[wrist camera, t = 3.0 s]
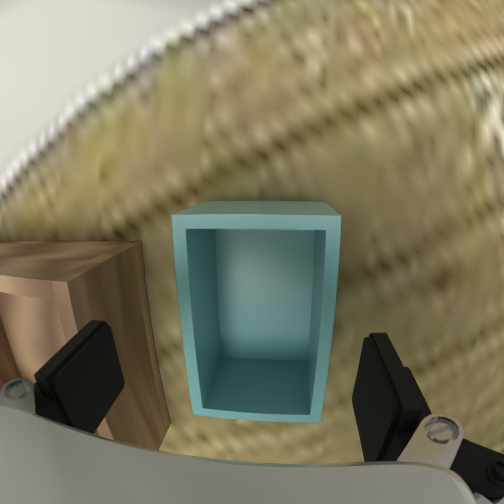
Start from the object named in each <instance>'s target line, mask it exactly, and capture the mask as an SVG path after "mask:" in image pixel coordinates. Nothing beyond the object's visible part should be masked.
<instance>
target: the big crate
mask: <svg viewBox="0 0 504 504" xmlns="http://www.w3.org/2000/svg"><path fill="white" fill-rule="evenodd" d="M91 320H101V321H106V322H107V324H108V325H109V326H110V327H111V329H112V333H113V338H114V342H115V346H116V350H117V354H118V358H119V361H120V365H121V369H122V372H123V376H124V380H125V385H124V388H123V390H122V391H121V393H120V394H119V396H118V397H117V399H116V400H115V402H114V403H113V405H112V407H111V408H110V410H109V411H108V413H107V414H106V416H105V417H104V419H103V420H102V422H101V424H100V425H99V427H98V428H97V430H96V431H95V433H94V434H95V435H99V436H102V437H106V438H110V439H113V440H117V441H121V442H125V443H129V444H133V445H137V446H142V447H146V448H151V449H156V450H159V447H160V445H161V443H162V441H163V439H164V437H165V435H166V432H167V430H168V428H169V426H170V424H171V423H170V419H169V414H168V410H167V406H166V401H165V396H164V392H163V387H162V382H161V377H160V372H159V367H158V361H157V356H156V350H155V345H154V339H153V332H152V326H151V319H150V313H149V306H148V298H147V290H146V282H145V273H144V264H143V254H142V244H141V241H0V393H1V389H2V388H3V386H4V385H5V384H6V383H7V382H9V381H11V380H13V379H16V378H27V379H29V380H31V381H32V382H33V384H34V383H35V382H36V380H35V377H34V374H35V373H36V372H37V371H38V370H39V369H40V368H41V367H42V366H43V365H44V364H45V363H46V362H47V361H48V360H49V359H50V358H51V357H52V356H53V355H54V354H55V353H57V352H58V351H59V350H60V349H61V348H62V347H63V346H64V345H65V344H66V343H67V342H68V341H69V340H70V339H71V338H72V337H73V336H74V335H76V334H77V333H78V332H79V331H80V330H81V329H82V328H83V327H84V326H85V325H86V324H87V323H88V322H90V321H91Z"/></svg>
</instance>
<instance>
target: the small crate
mask: <svg viewBox="0 0 504 504" xmlns="http://www.w3.org/2000/svg"><path fill="white" fill-rule="evenodd" d="M172 230H173V246H174V259H175V272H176V283H177V294H178V304H179V314H180V323H181V332H182V340H183V348H184V356H185V363H186V370H187V377H188V384H189V390H190V397H191V403H192V409H193V414H195V415H202V416H210V417H219V418H229V419H240V420H254V421H272V422H320V419H321V414H322V408H323V401H324V395H325V388H326V382H327V374H328V367H329V360H330V352H331V343H332V335H333V325H334V316H335V305H336V294H337V282H338V268H339V253H340V234H341V215H340V214H339V213H337V212H336V211H335V210H334V209H333V208H332V207H331V206H330V205H328V204H327V203H326V202H318V201H205V202H202V203H200V204H197V205H195V206H192V207H190V208H187V209H185V210H182V211H180V212H177V213H175V214H172Z"/></svg>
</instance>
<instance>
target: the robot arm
mask: <svg viewBox="0 0 504 504" xmlns="http://www.w3.org/2000/svg"><path fill="white" fill-rule="evenodd" d="M34 377H35V380H36V382H35V383H34V384H33V382H32V381H31V380H29V379H27V378H16V379H13V380H11V381H9V382H7V383H6V384H5V385H4V386H3V388H2V389H1V393H0V504H504V454H501V453H498V452H496V451H493V450H491V449H488V448H485V447H483V446H480V445H478V444H475V443H473V442H470V441H468V440H466V439H463V435H464V429H463V426H462V424H461V423H460V421H458V420H457V419H456V418H455V417H453V416H451V415H448V414H444V413H435V414H431V411H430V409H429V407H428V405H427V403H426V401H425V399H424V397H423V395H422V393H421V391H420V389H419V387H418V385H417V383H416V381H415V379H414V377H413V375H412V373H411V371H410V369H409V368H408V367H404V366H403V364H402V362H401V360H400V358H399V356H398V354H397V352H396V351H395V349H394V347H393V345H392V343H391V341H390V339H389V337H388V335H387V334H386V333H370V335H369V337H365V338H364V341H363V346H362V352H361V357H360V362H359V367H358V372H357V377H356V382H355V386H354V391H353V396H352V403H353V408H354V413H355V417H356V422H357V426H358V431H359V436H360V441H361V446H362V451H363V456H364V461H365V462H356V463H336V464H271V463H253V462H239V461H229V460H219V459H211V458H203V457H196V456H189V455H183V454H177V453H171V452H166V451H161V450H156V449H151V448H146V447H142V446H137V445H133V444H129V443H125V442H121V441H117V440H113V439H110V438H106V437H102V436H99V435H95V434H94V433H95V431H96V430H97V428H98V427H99V425H100V424H101V422H102V420H103V419H104V417H105V416H106V414H107V413H108V411H109V410H110V408H111V407H112V405H113V403H114V402H115V400H116V399H117V397H118V396H119V394H120V393H121V391H122V390H123V388H124V385H125V380H124V376H123V372H122V369H121V365H120V361H119V358H118V354H117V350H116V346H115V342H114V338H113V333H112V329H111V327H110V326H109V325H108V324H107V322H106V321H101V320H91V321H90V322H88V323H87V324H86V325H85V326H84V327H83V328H82V329H81V330H80V331H79V332H78V333H77V334H76V335H74V336H73V337H72V338H71V339H70V340H69V341H68V342H67V343H66V344H65V345H64V346H63V347H62V348H61V349H60V350H59V351H58V352H57V353H55V354H54V355H53V356H52V357H51V358H50V359H49V360H48V361H47V362H46V363H45V364H44V365H43V366H42V367H41V368H40V369H39V370H38V371H37V372H36V373H35V374H34Z"/></svg>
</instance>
